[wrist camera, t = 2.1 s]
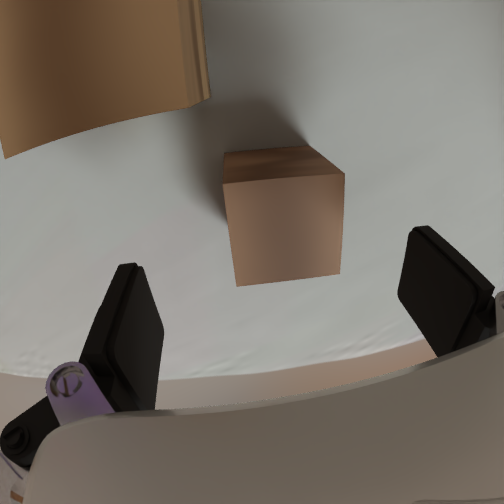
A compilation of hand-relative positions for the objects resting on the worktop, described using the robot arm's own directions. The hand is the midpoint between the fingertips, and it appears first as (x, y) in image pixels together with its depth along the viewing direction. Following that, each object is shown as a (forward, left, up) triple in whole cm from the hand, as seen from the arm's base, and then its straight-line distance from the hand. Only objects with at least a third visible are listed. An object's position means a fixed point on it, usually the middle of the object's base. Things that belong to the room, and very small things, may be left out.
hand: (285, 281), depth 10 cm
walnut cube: (-1, 0, -10) cm, 10 cm away
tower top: (+5, -9, -5) cm, 11 cm away
